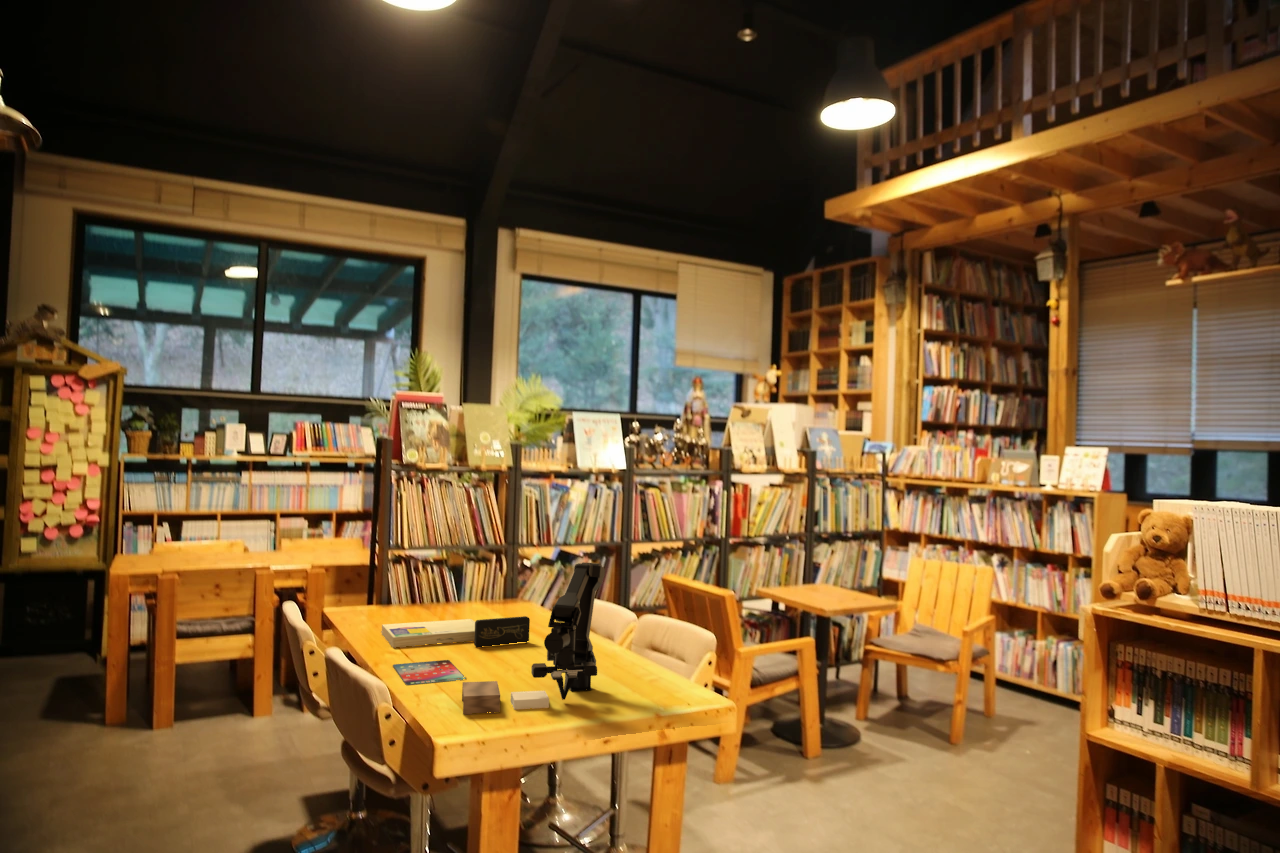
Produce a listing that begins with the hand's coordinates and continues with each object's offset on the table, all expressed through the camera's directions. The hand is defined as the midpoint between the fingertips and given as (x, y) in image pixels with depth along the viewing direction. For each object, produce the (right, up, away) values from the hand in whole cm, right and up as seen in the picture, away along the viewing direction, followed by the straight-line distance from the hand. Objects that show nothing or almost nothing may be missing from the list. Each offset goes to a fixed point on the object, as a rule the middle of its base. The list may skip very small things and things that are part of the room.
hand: (563, 699), depth 241 cm
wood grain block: (-23, 0, -6) cm, 24 cm away
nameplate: (-30, -3, +69) cm, 75 cm away
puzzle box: (-57, -3, +78) cm, 97 cm away
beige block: (-10, -1, -2) cm, 10 cm away
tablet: (-47, -1, +28) cm, 54 cm away
